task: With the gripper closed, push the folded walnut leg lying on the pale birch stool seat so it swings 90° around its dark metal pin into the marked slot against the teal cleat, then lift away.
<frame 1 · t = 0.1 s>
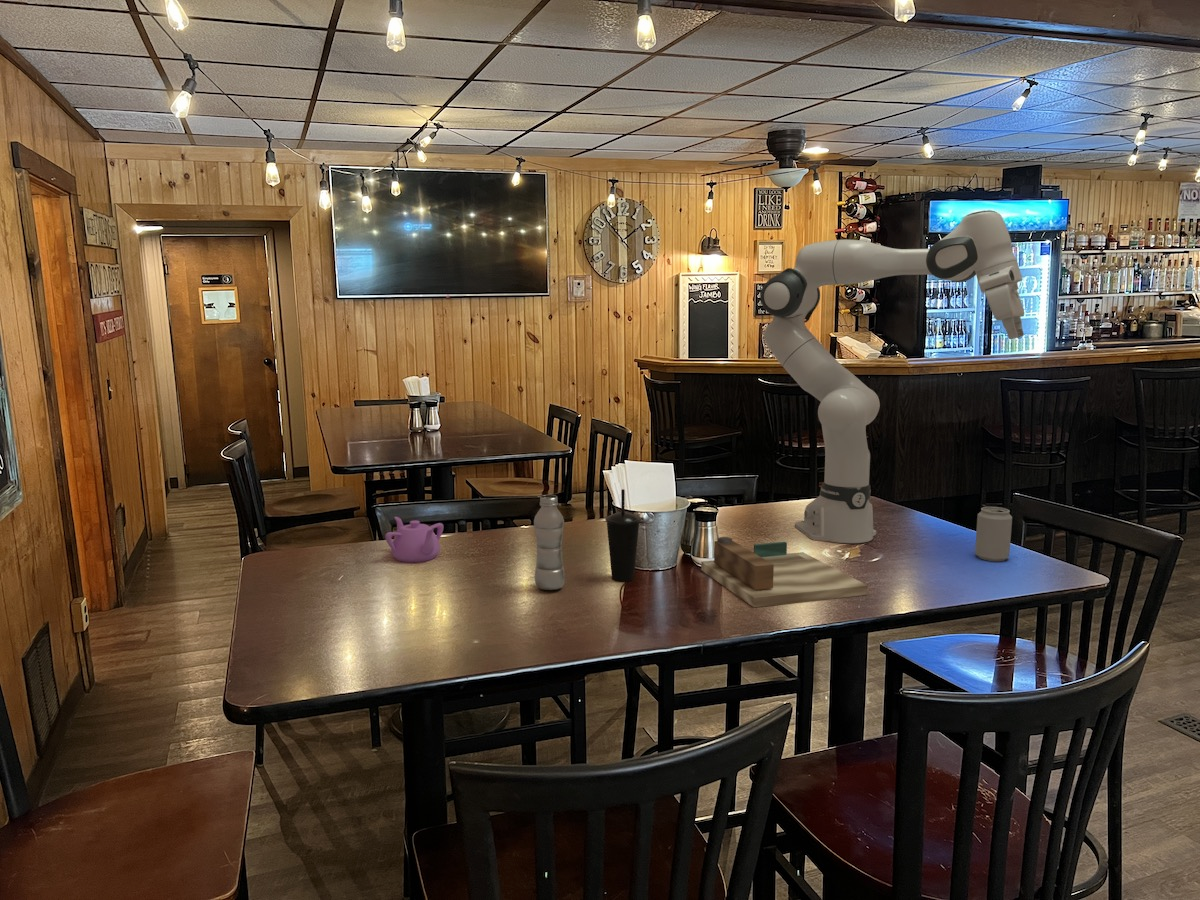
hand: (1016, 337, 198), 52 cm above the table, tool tilted 20°, fingers open, 8 cm apart
teapot: (415, 557, 209), on the table
drinking cup: (622, 579, 192), on the table
walnut leg: (741, 561, 187), point 5 cm above the table, hinge at 0.0°
can: (991, 558, 207), on the table
stool seat: (780, 581, 189), on the table
plastic bottle: (549, 589, 185), on the table
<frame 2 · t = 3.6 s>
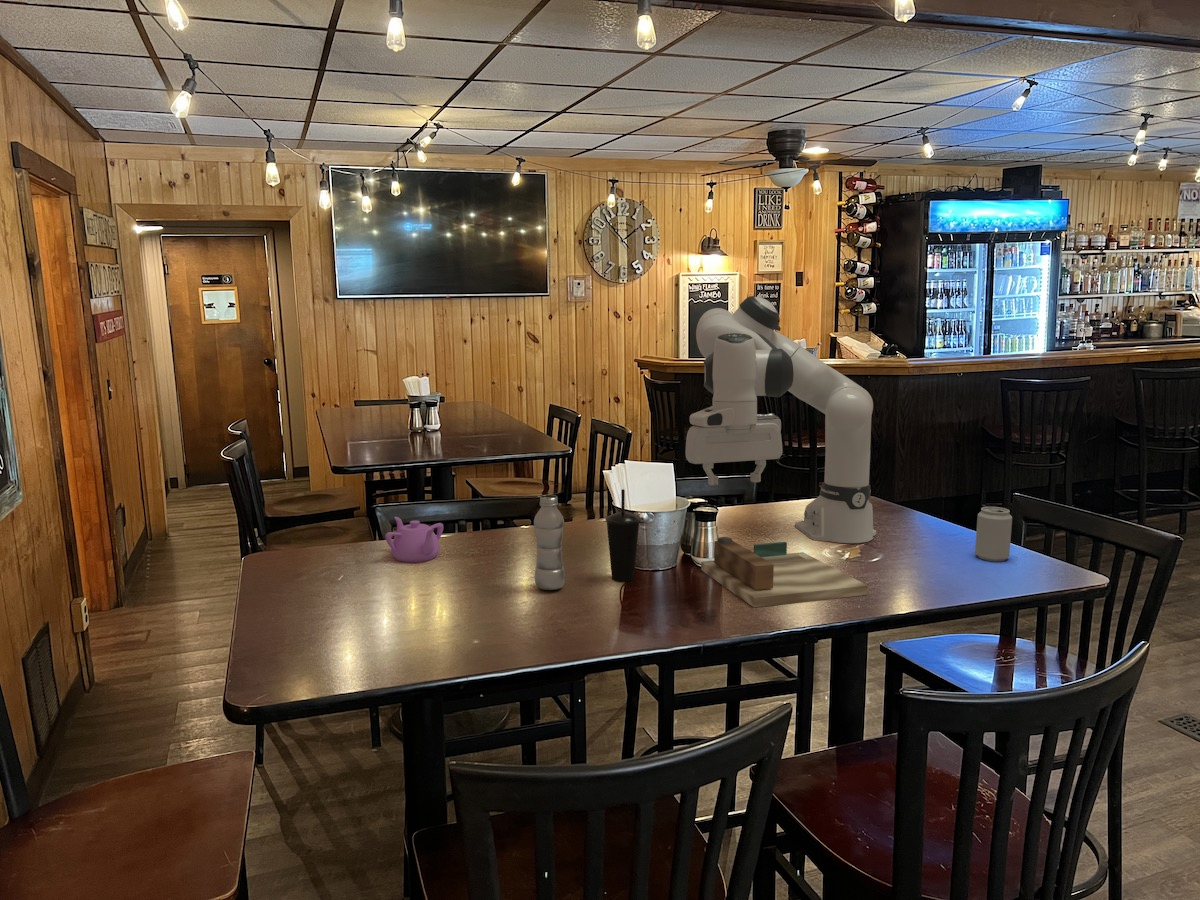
hand: (734, 483, 176), 24 cm above the table, tool pointing down, fingers open, 8 cm apart
nothing on the table moved.
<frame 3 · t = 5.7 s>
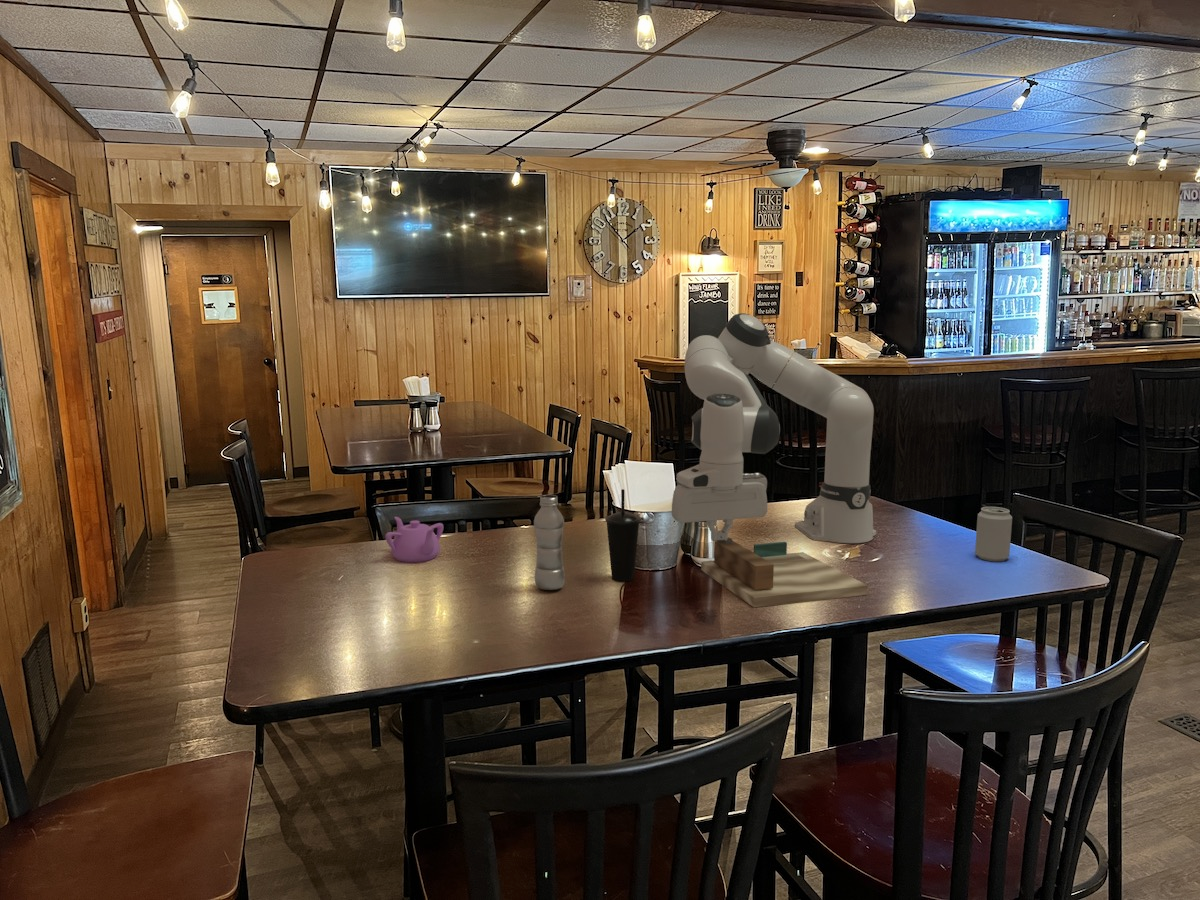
hand: (719, 540, 180), 11 cm above the table, tool pointing down, fingers closed
nothing on the table moved.
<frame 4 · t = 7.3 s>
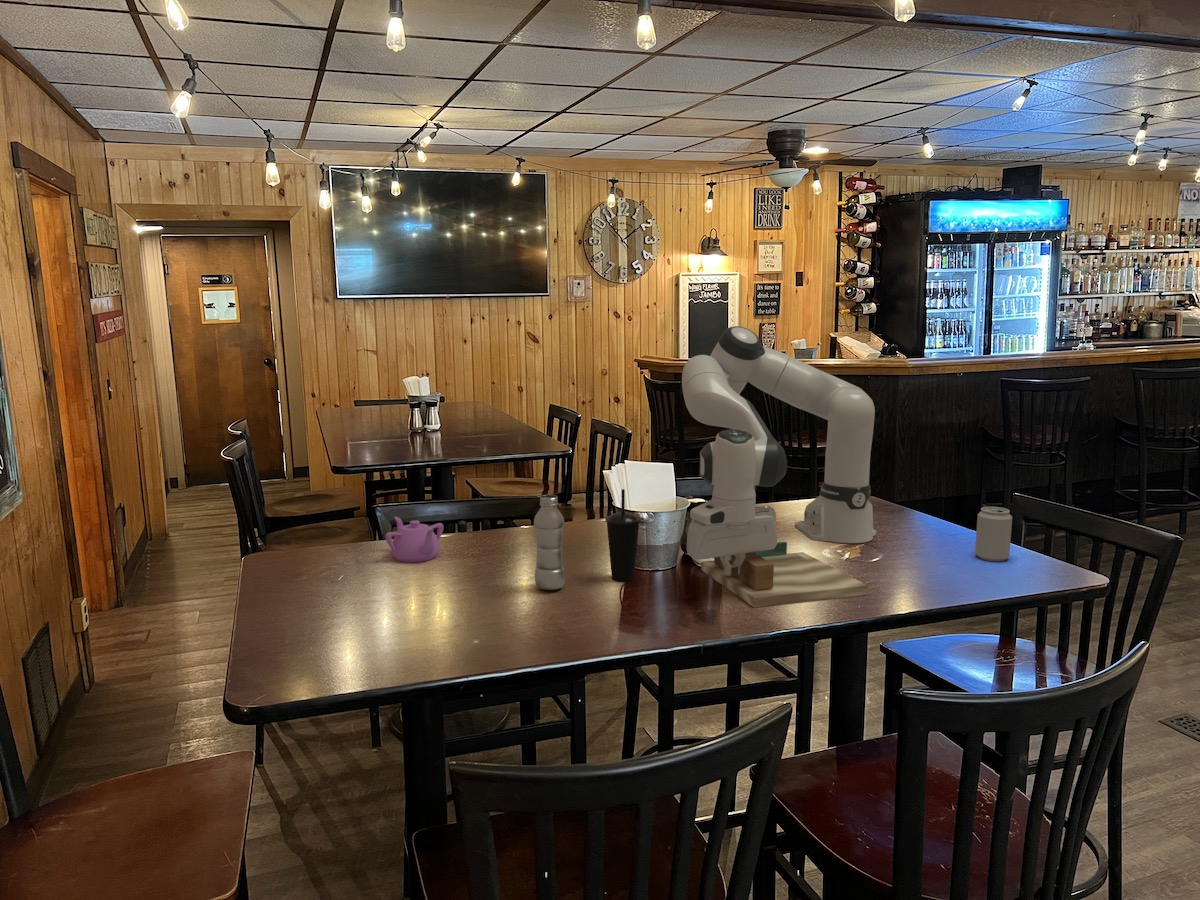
hand: (732, 574, 181), 4 cm above the table, tool pointing down, fingers closed
walnut leg: (741, 561, 187), point 5 cm above the table, hinge at 0.0°, touching gripper
everything else where it was.
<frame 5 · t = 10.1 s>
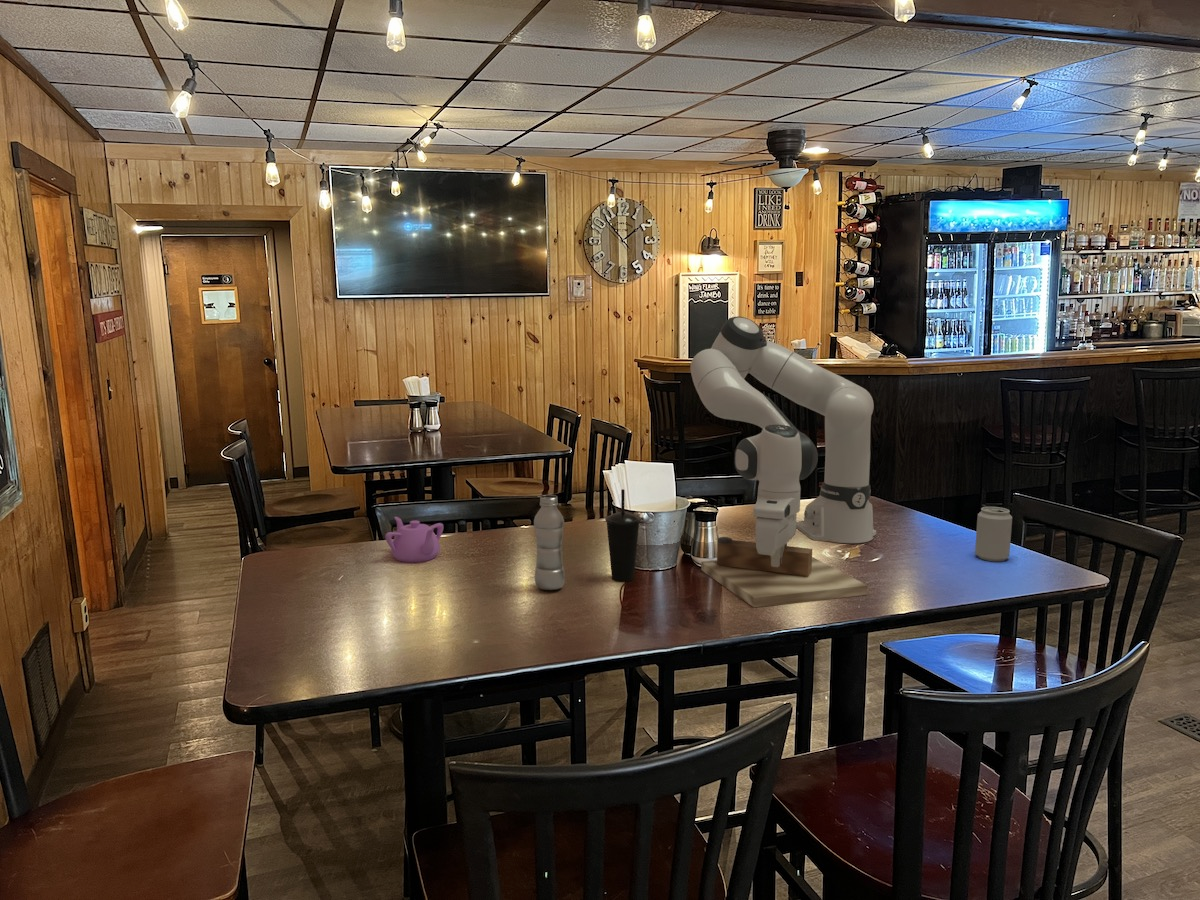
hand: (776, 565, 186), 4 cm above the table, tool pointing down, fingers closed
walnut leg: (762, 555, 191), point 5 cm above the table, hinge at 48.7°, touching gripper
everything else where it was.
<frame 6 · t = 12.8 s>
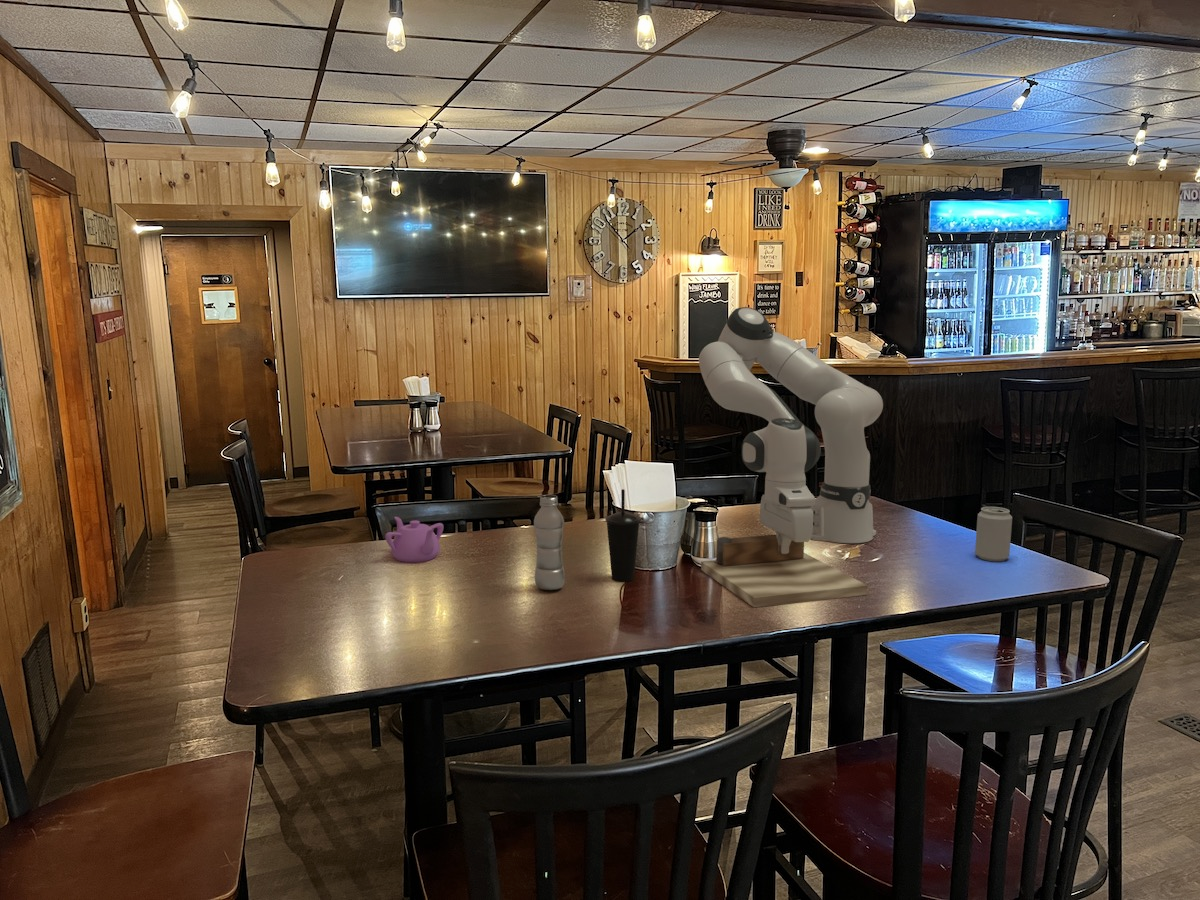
hand: (783, 552, 195), 5 cm above the table, tool pointing down, fingers closed
walnut leg: (759, 547, 197), point 5 cm above the table, hinge at 90.7°, touching gripper
everything else where it was.
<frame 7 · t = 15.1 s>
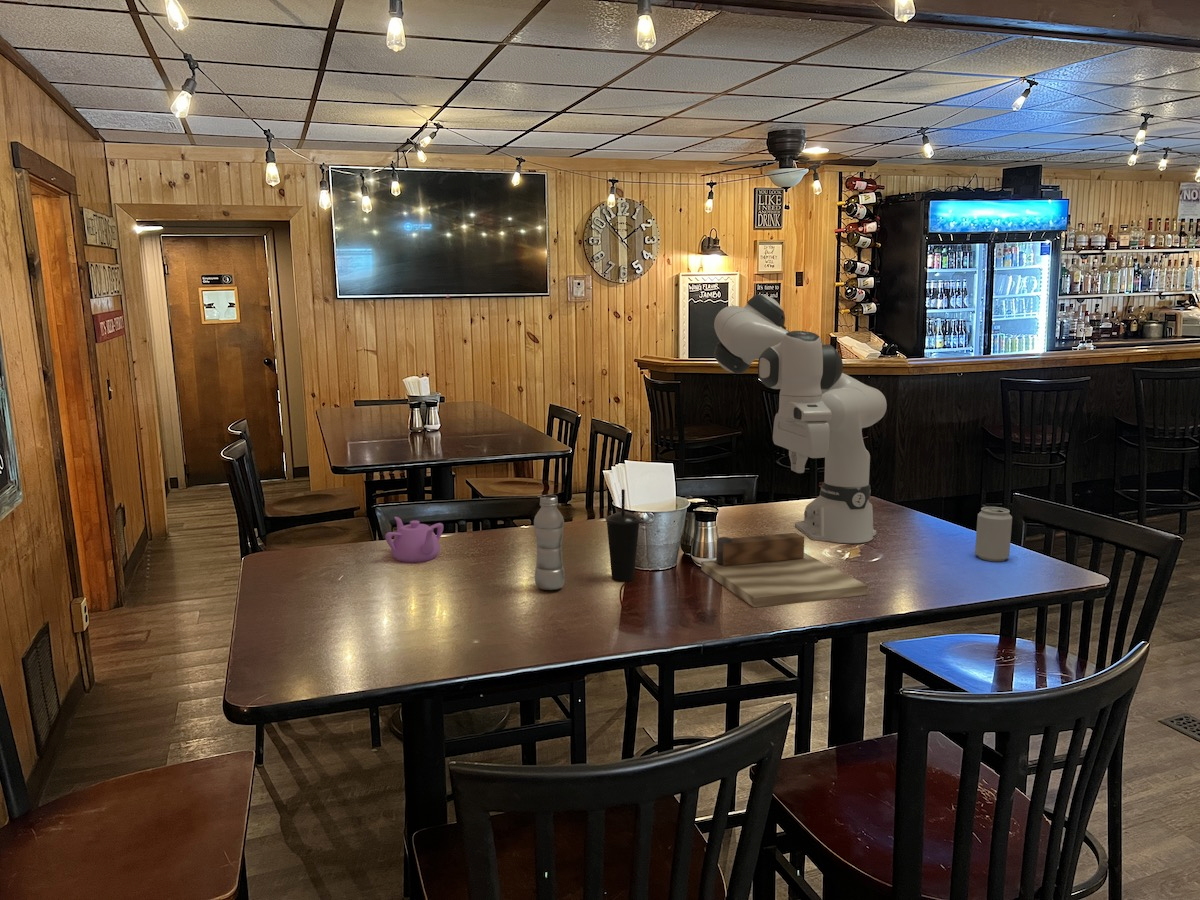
hand: (797, 471, 188), 24 cm above the table, tool pointing down, fingers closed
walnut leg: (759, 547, 197), point 5 cm above the table, hinge at 90.5°
everything else where it was.
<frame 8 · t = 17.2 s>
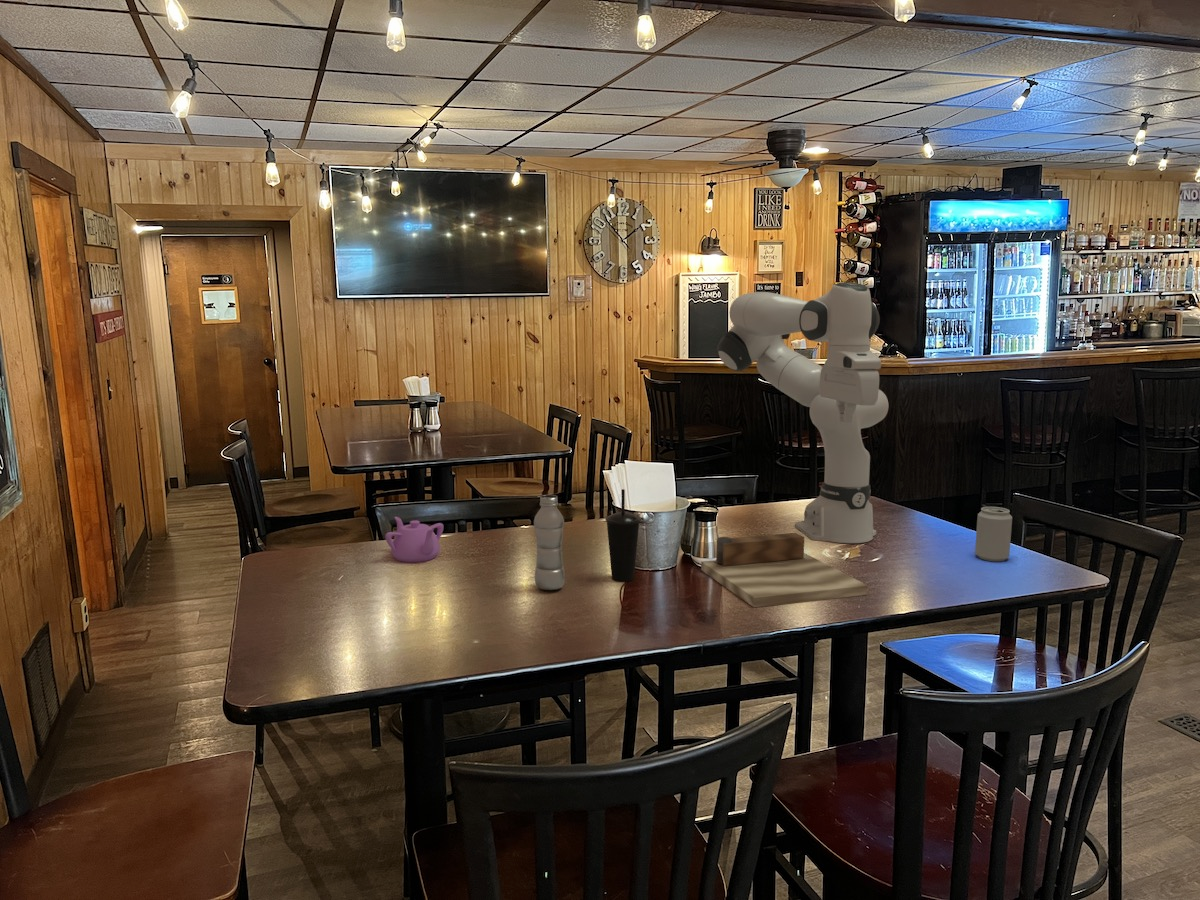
hand: (845, 422, 191), 34 cm above the table, tool pointing down, fingers closed
nothing on the table moved.
at the end: walnut leg at +90° (first picture: +0°) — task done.
